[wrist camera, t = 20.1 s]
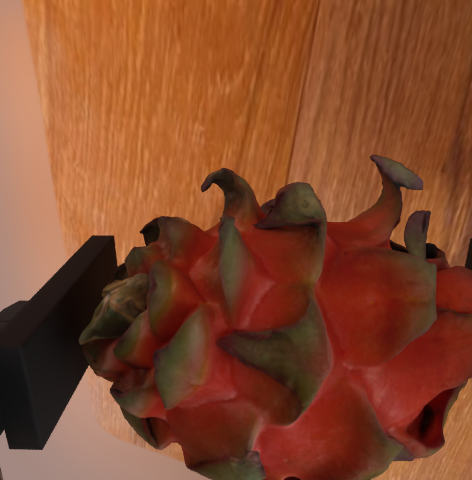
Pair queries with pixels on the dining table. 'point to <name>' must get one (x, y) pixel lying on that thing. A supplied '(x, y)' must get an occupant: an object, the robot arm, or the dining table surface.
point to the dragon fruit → (287, 336)
